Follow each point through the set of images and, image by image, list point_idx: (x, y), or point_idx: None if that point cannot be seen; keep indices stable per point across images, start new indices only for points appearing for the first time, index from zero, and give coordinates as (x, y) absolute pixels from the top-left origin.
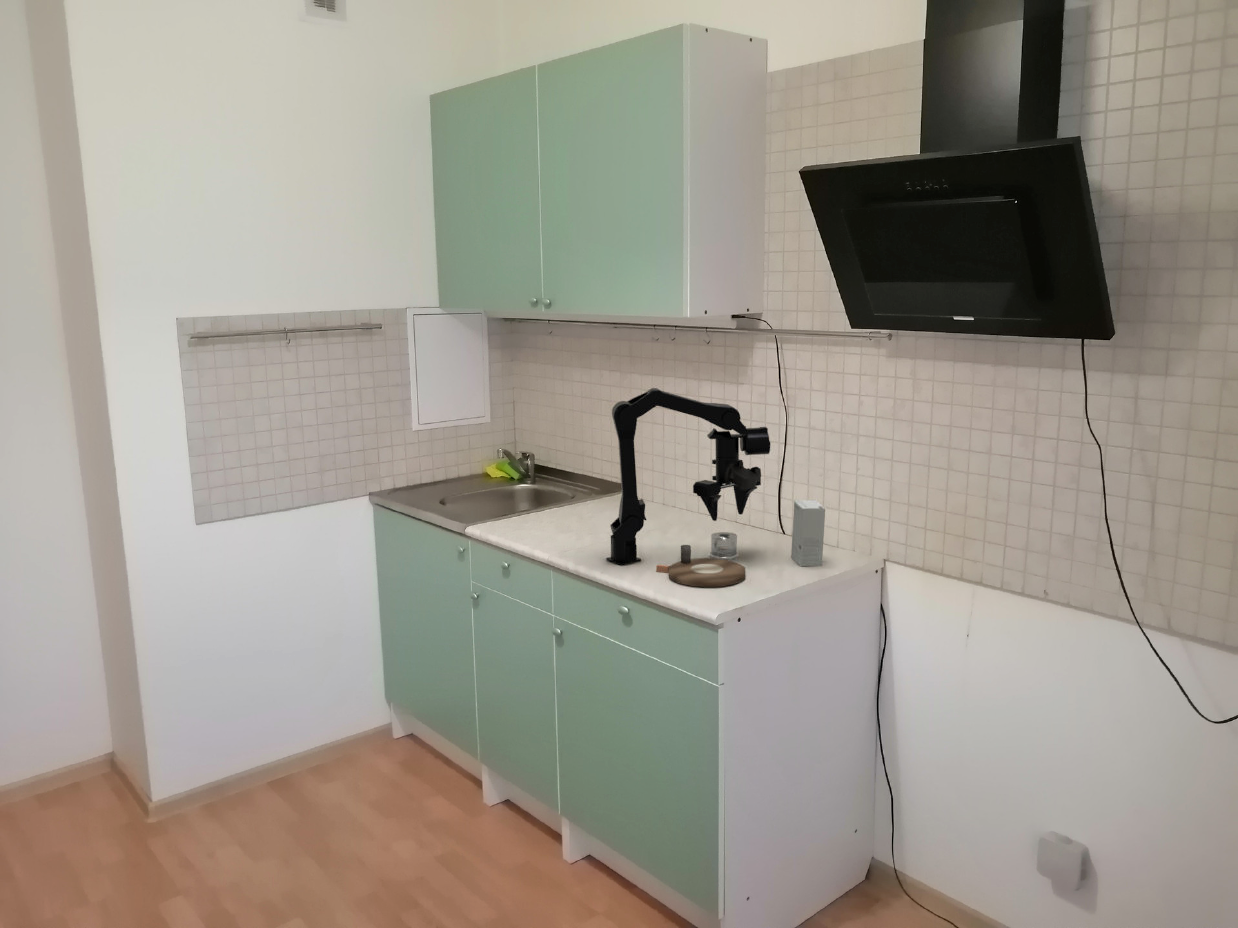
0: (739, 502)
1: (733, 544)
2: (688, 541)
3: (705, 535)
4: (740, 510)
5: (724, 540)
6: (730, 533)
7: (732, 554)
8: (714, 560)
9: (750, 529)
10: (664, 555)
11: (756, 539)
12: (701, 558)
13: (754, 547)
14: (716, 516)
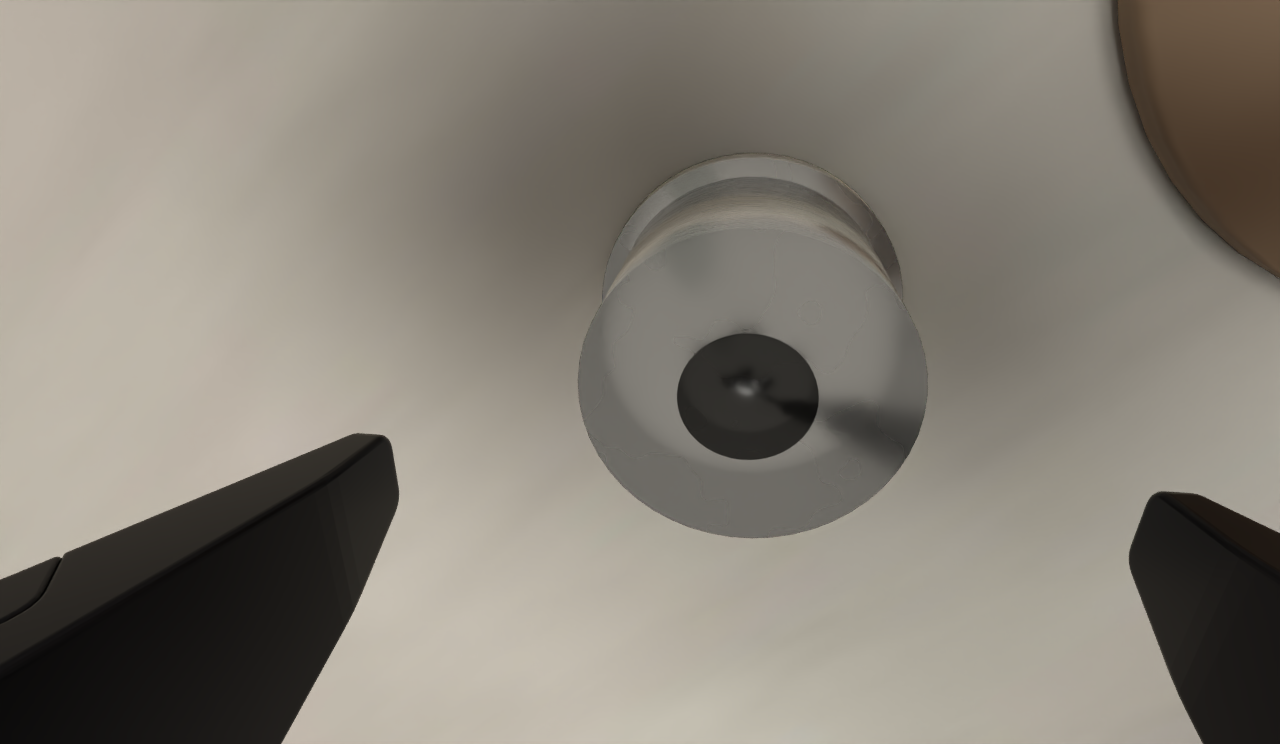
0: (245, 671)
1: (754, 204)
2: (622, 735)
3: (417, 736)
4: (356, 501)
5: (884, 276)
6: (613, 398)
7: (767, 181)
8: (1267, 67)
9: None
10: (1084, 657)
11: (154, 438)
12: (1264, 250)
13: (314, 293)
14: (1254, 537)
